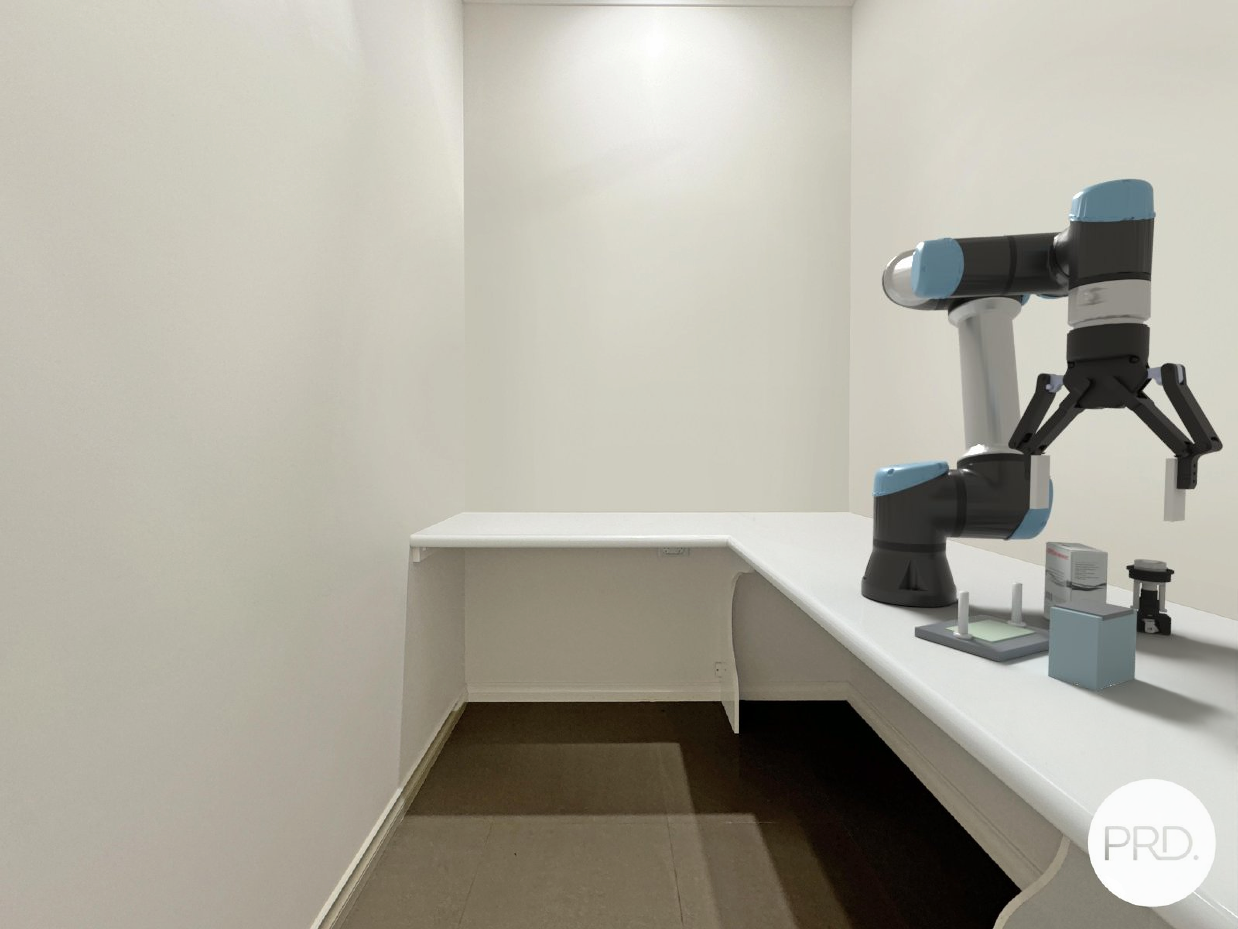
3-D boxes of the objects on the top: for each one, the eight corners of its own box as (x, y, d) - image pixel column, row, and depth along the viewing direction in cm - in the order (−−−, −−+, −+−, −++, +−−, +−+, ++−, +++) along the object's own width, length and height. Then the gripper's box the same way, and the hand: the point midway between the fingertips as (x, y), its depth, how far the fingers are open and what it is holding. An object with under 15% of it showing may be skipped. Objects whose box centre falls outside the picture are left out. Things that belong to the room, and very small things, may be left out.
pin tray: (914, 635, 91) (915, 584, 91) (982, 622, 98) (984, 574, 98) (998, 661, 81) (1000, 603, 80) (1068, 644, 87) (1070, 590, 87)
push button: (1116, 632, 93) (1118, 562, 93) (1109, 622, 98) (1112, 556, 98) (1176, 639, 90) (1179, 566, 90) (1166, 629, 95) (1169, 560, 95)
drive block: (1047, 676, 76) (1049, 605, 76) (1086, 665, 80) (1088, 598, 79) (1096, 691, 71) (1099, 616, 71) (1135, 679, 75) (1137, 608, 75)
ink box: (1107, 635, 92) (1109, 551, 92) (1068, 632, 93) (1070, 550, 93) (1077, 618, 100) (1080, 542, 100) (1042, 616, 101) (1044, 540, 101)
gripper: (980, 338, 83) (976, 505, 84) (1237, 302, 61) (1228, 529, 62) (1015, 342, 87) (1011, 503, 88) (1270, 310, 65) (1261, 524, 66)
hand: (1101, 514), depth 75 cm, fingers open, 13 cm apart
